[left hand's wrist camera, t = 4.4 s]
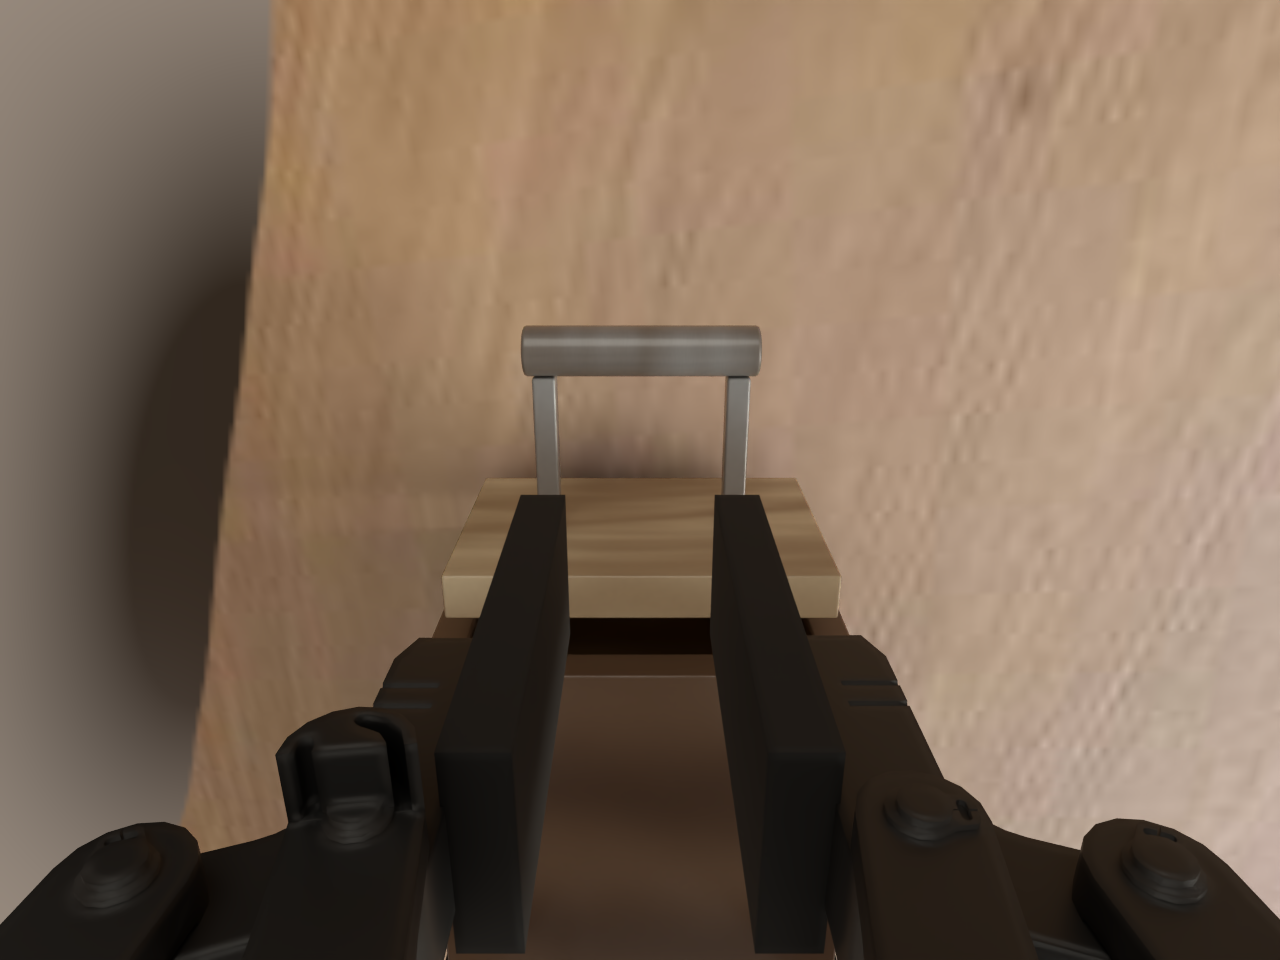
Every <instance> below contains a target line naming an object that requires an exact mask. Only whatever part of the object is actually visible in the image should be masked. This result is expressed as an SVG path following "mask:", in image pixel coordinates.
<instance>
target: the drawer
mask: <svg viewBox="0 0 1280 960" xmlns="http://www.w3.org/2000/svg"><path fill="white" fill-rule="evenodd" d="M761 358H762V338H761V331H760V328H759V327H758V326H525V327H524V328H523V330H522V335H521V362H522V369H523V372H524V375H526V376H534V377H533V379H532V392H533V412H534V433H535V454H536V475H537V478H487V479H486V480H485V482H484V484H483V487H482V489H481V491H480V493H479V495H478V498H477V500H476V502H475V504H474V506H473V509H472V511H471V513H470V515H469V517H468V520H467V522H466V524H465V526H464V528H463V531H462V533H461V535H460V537H459V539H458V542H457V544H456V546H455V548H454V550H453V553H452V555H451V557H450V559H449V561H448V563H447V566H446V568H445V570H444V572H443V574H442V577H441V579H442V590H443V600H444V611H445V617H446V618H479V617H480V614H481V611H482V608H483V605H484V602H485V599H486V597H487V594H488V591H489V588H490V585H491V582H492V579H493V576H494V573H495V570H496V567H497V564H498V561H499V558H500V555H501V552H502V549H503V546H504V543H505V540H506V537H507V534H508V531H509V528H510V525H511V522H512V519H513V516H514V513H515V510H516V507H517V504H518V501H519V498H520V495H565V499H566V527H567V556H568V584H569V613H570V639H569V646H568V653H567V654H713V653H712V645H711V638H710V613H711V585H712V556H713V528H714V499H715V495H760V498H761V501H762V504H763V507H764V510H765V513H766V516H767V519H768V522H769V525H770V528H771V531H772V534H773V537H774V540H775V543H776V546H777V549H778V552H779V555H780V558H781V561H782V564H783V567H784V570H785V573H786V576H787V579H788V582H789V585H790V588H791V591H792V593H793V596H794V599H795V602H796V605H797V608H798V611H799V614H800V617H801V618H837V616H838V608H839V598H840V588H841V578H842V577H841V575H840V573H839V571H838V568H837V566H836V564H835V562H834V560H833V558H832V555H831V553H830V551H829V549H828V547H827V545H826V542H825V540H824V538H823V536H822V534H821V532H820V529H819V527H818V525H817V523H816V521H815V519H814V516H813V514H812V512H811V510H810V508H809V506H808V503H807V501H806V499H805V497H804V495H803V493H802V491H801V488H800V486H799V484H798V482H797V480H796V478H746V466H747V445H748V425H749V405H750V384H751V380H750V378H749V376H757V375H758V374H759V371H760V367H761ZM557 376H726V379H725V405H724V432H723V458H722V478H561V471H560V444H559V417H558V390H557Z"/></svg>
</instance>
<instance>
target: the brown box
mask: <svg viewBox="0 0 1280 960" xmlns="http://www.w3.org/2000/svg"><path fill="white" fill-rule="evenodd" d="M478 620H479V618H446V617H445V611H443V613H442V616H441V618H440V620H439V623H438V625H437V628H436V630H435V632H434V635H433V637H432V638H473V635H474V632H475V629H476V626H477V623H478ZM801 620H802V623H803V626H804V629H805V632H806V635H849V633H848V631H847V628H846V626H845V624H844V621H843V619H842V616H841V614H840V612H839V609H838V616H837V618H801ZM447 954H448V960H834V958H835V948H834V944H833V940H832V936H831V931H830V927H829V923H828V921H827V930H826V939H825V948H824V954H755V950H754V943H753V936H752V929H751V921H750V914H749V907H748V900H747V893H746V886H745V879H744V872H743V865H742V858H741V851H740V844H739V837H738V829H737V822H736V815H735V808H734V801H733V794H732V787H731V780H730V773H729V766H728V759H727V752H726V745H725V737H724V730H723V723H722V716H721V709H720V702H719V695H718V688H717V681H716V674H715V667H714V660H713V654H567V660H566V667H565V674H564V681H563V688H562V695H561V702H560V709H559V716H558V723H557V730H556V738H555V745H554V752H553V759H552V766H551V773H550V780H549V787H548V794H547V801H546V808H545V815H544V822H543V830H542V837H541V844H540V851H539V858H538V865H537V872H536V879H535V886H534V893H533V900H532V907H531V914H530V922H529V929H528V936H527V943H526V950H525V954H456V948H455V939H454V930H453V923H452V927H451V931H450V936H449V940H448V944H447Z"/></svg>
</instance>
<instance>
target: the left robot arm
mask: <svg viewBox="0 0 1280 960" xmlns="http://www.w3.org/2000/svg"><path fill="white" fill-rule="evenodd" d="M710 638H711V645H712V653H713V660H714V667H715V674H716V681H717V688H718V695H719V702H720V709H721V716H722V723H723V730H724V737H725V745H726V752H727V759H728V766H729V773H730V780H731V787H732V794H733V801H734V808H735V815H736V822H737V829H738V837H739V844H740V851H741V858H742V865H743V872H744V879H745V886H746V893H747V900H748V907H749V914H750V921H751V929H752V936H753V943H754V950H755V954H824V948H825V939H826V930H827V921H828V923H829V927H830V931H831V936H832V940H833V944H834V948H835V952H836V956H837V960H1280V919H1279V918H1278V917H1277V916H1276V915H1275V914H1274V913H1273V912H1272V911H1271V910H1270V909H1269V908H1268V907H1267V905H1266V904H1265V903H1264V902H1263V901H1262V900H1261V899H1260V898H1259V897H1258V896H1257V895H1256V894H1255V893H1254V892H1253V891H1252V890H1251V889H1250V888H1249V887H1248V886H1247V884H1246V883H1245V882H1244V881H1243V880H1242V879H1241V878H1240V877H1239V876H1238V875H1237V874H1236V873H1235V872H1234V871H1233V870H1232V869H1231V868H1230V867H1229V866H1228V865H1227V864H1226V863H1225V862H1224V861H1223V860H1221V859H1220V858H1219V857H1218V856H1216V855H1215V854H1214V853H1213V852H1212V851H1210V850H1209V849H1208V848H1207V847H1206V846H1204V845H1203V844H1201V843H1199V842H1197V841H1195V840H1194V839H1192V838H1190V837H1188V836H1186V835H1184V834H1182V833H1180V832H1178V831H1177V830H1175V829H1172V828H1169V827H1165V826H1162V825H1158V824H1155V823H1152V822H1148V821H1145V820H1134V819H1118V818H1116V819H1113V820H1109V821H1106V822H1102V823H1098V824H1095V825H1094V827H1093V828H1092V829H1091V830H1090V831H1089V832H1088V833H1087V834H1086V835H1085V836H1084V838H1083V842H1082V846H1081V850H1077V849H1073V848H1069V847H1065V846H1061V845H1056V844H1052V843H1048V842H1044V841H1040V840H1036V839H1031V838H1027V837H1024V836H1021V835H1018V834H1015V833H1012V832H1008V831H1005V830H1003V829H1001V828H999V827H997V826H995V825H993V824H992V821H991V820H990V818H989V816H988V815H987V813H986V811H985V810H984V808H983V806H982V805H981V803H980V802H979V801H978V800H976V799H975V798H974V797H973V796H972V795H970V794H969V793H968V792H967V791H966V790H964V789H963V788H962V787H960V786H958V785H956V784H954V783H952V782H950V781H948V780H946V779H944V777H943V775H942V773H941V771H940V769H939V767H938V765H937V763H936V761H935V758H934V756H933V754H932V752H931V750H930V748H929V746H928V744H927V742H926V740H925V737H924V735H923V733H922V731H921V729H920V727H919V725H918V723H917V721H916V719H915V716H914V714H913V712H912V710H911V708H910V706H907V700H906V698H905V695H904V693H903V691H902V689H901V687H900V685H898V684H897V679H896V676H895V674H894V672H893V670H892V668H891V666H890V664H889V662H888V660H887V658H886V656H885V655H884V654H883V653H881V652H880V651H879V650H878V649H877V648H875V647H874V646H873V645H872V644H871V643H870V642H868V641H867V640H866V639H865V638H864V637H862V636H861V635H806V632H805V629H804V626H803V623H802V620H801V617H800V614H799V611H798V608H797V605H796V602H795V599H794V596H793V593H792V591H791V588H790V585H789V582H788V579H787V576H786V573H785V570H784V567H783V564H782V561H781V558H780V555H779V552H778V549H777V546H776V543H775V540H774V537H773V534H772V531H771V528H770V525H769V522H768V519H767V516H766V513H765V510H764V507H763V504H762V501H761V498H760V495H715V499H714V528H713V556H712V585H711V613H710ZM569 639H570V613H569V584H568V556H567V527H566V499H565V495H520V498H519V501H518V504H517V507H516V510H515V513H514V516H513V519H512V522H511V525H510V528H509V531H508V534H507V537H506V540H505V543H504V546H503V549H502V552H501V555H500V558H499V561H498V564H497V567H496V570H495V573H494V576H493V579H492V582H491V585H490V588H489V591H488V594H487V597H486V599H485V602H484V605H483V608H482V611H481V614H480V617H479V620H478V623H477V626H476V629H475V632H474V635H473V638H419V639H417V640H416V641H415V642H414V643H413V644H412V645H410V646H409V647H408V648H407V649H406V650H404V651H403V652H402V653H401V654H400V655H399V656H397V657H396V658H395V659H394V661H393V663H392V665H391V667H390V669H389V672H388V674H387V676H386V678H385V680H384V682H383V688H380V691H379V693H378V695H377V697H376V699H375V701H374V703H373V707H355V708H350V709H345V710H340V711H334V712H331V713H329V714H326V715H324V716H321V717H319V718H317V719H314V720H312V721H310V722H307V723H306V724H305V725H303V726H302V727H301V728H299V729H298V730H297V731H295V732H294V733H293V734H291V735H290V736H288V737H287V739H286V740H285V741H284V743H283V744H282V746H281V747H280V749H279V750H278V752H277V753H276V754H275V756H276V761H277V766H278V771H279V776H280V781H281V787H282V792H283V797H284V802H285V807H286V812H287V817H288V825H287V828H286V829H284V830H282V831H280V832H278V833H276V834H273V835H270V836H267V837H264V838H260V839H257V840H254V841H250V842H246V843H242V844H238V845H234V846H230V847H225V848H221V849H217V850H213V851H209V852H205V853H200V850H199V846H198V842H197V840H196V839H195V838H194V837H193V836H192V834H191V833H190V832H189V831H188V830H187V829H186V828H184V827H181V826H177V825H174V824H170V823H166V822H155V823H138V824H134V825H131V826H128V827H124V828H121V829H118V830H114V831H111V832H108V833H106V834H104V835H102V836H100V837H98V838H96V839H94V840H92V841H90V842H89V843H87V844H85V845H83V846H81V847H79V848H77V849H76V850H75V851H74V852H73V853H71V854H70V855H69V856H68V857H67V858H65V859H64V860H63V861H62V862H61V863H59V864H58V865H57V866H56V867H55V868H53V869H52V870H51V872H50V873H49V874H48V875H47V876H46V877H45V878H44V879H43V880H42V881H41V882H40V883H39V884H38V885H37V886H36V887H35V888H34V889H33V891H32V892H31V893H30V894H29V895H28V896H27V897H26V898H25V899H24V900H23V901H22V902H21V903H20V904H19V905H18V906H17V907H16V909H15V910H14V911H13V912H12V913H11V914H10V915H9V916H8V917H7V918H6V919H5V920H4V921H3V922H2V923H1V924H0V960H444V957H445V952H446V948H447V944H448V940H449V936H450V931H451V927H452V923H453V930H454V939H455V948H456V954H525V950H526V943H527V936H528V929H529V922H530V914H531V907H532V900H533V893H534V886H535V879H536V872H537V865H538V858H539V851H540V844H541V837H542V830H543V822H544V815H545V808H546V801H547V794H548V787H549V780H550V773H551V766H552V759H553V752H554V745H555V738H556V730H557V723H558V716H559V709H560V702H561V695H562V688H563V681H564V674H565V667H566V660H567V653H568V646H569Z"/></svg>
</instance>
